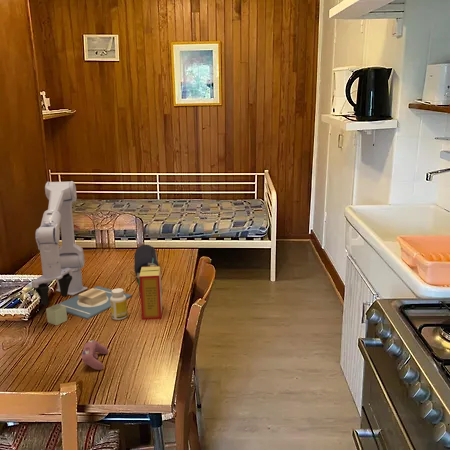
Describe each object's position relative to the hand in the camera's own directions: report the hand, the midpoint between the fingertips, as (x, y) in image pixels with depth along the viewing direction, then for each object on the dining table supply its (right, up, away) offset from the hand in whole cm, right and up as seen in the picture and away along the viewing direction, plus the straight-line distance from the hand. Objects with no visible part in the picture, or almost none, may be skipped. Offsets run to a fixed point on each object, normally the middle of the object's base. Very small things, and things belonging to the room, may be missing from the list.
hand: (55, 300), depth 157 cm
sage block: (0, -7, +2) cm, 8 cm away
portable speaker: (+23, +4, +46) cm, 51 cm away
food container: (+28, -1, +25) cm, 38 cm away
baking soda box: (+31, -6, +7) cm, 33 cm away
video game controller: (+20, -14, -23) cm, 33 cm away
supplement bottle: (+20, -7, +5) cm, 22 cm away
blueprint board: (+8, -3, +16) cm, 19 cm away
